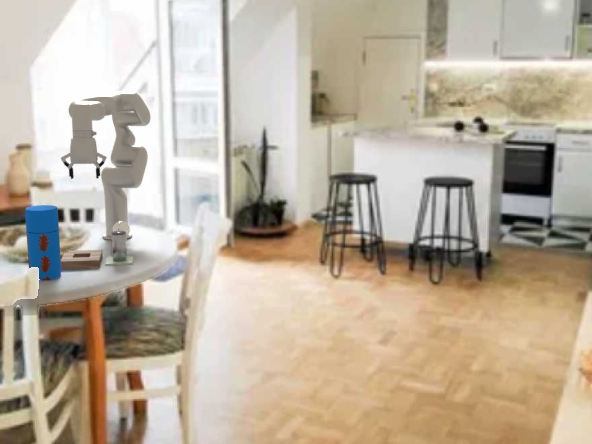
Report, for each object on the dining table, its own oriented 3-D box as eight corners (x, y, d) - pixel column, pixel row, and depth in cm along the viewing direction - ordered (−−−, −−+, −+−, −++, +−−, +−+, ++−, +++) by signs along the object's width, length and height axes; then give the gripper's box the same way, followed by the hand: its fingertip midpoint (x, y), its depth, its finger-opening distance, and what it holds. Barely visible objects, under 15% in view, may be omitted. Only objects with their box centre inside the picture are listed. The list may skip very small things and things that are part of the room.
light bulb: (126, 252, 296) (125, 223, 293) (110, 251, 297) (109, 222, 295) (133, 248, 303) (132, 219, 300) (117, 247, 304) (116, 218, 301)
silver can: (113, 258, 284) (112, 230, 281) (127, 258, 284) (125, 230, 282) (112, 262, 279) (111, 233, 276) (126, 261, 279) (125, 233, 277)
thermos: (30, 282, 254) (25, 211, 249) (28, 274, 263) (23, 206, 258) (63, 278, 258) (59, 209, 253) (59, 271, 268) (55, 204, 262)
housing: (65, 258, 285) (65, 250, 285) (102, 257, 288) (102, 249, 287) (60, 269, 270) (60, 261, 269) (99, 267, 273) (99, 260, 272)
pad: (107, 258, 286) (107, 257, 285) (133, 257, 287) (133, 256, 287) (105, 265, 276) (105, 263, 276) (132, 264, 278) (132, 262, 278)
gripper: (106, 133, 290) (108, 176, 293) (60, 134, 287) (63, 177, 290) (104, 135, 283) (106, 179, 286) (58, 135, 280) (60, 180, 283)
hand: (84, 178), depth 288 cm, fingers open, 9 cm apart
